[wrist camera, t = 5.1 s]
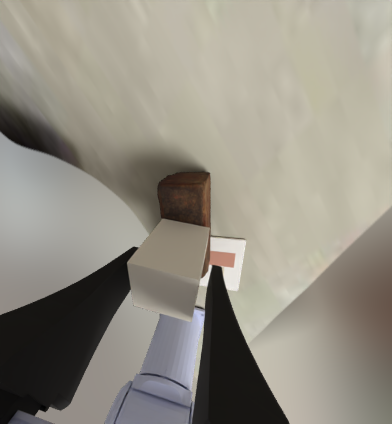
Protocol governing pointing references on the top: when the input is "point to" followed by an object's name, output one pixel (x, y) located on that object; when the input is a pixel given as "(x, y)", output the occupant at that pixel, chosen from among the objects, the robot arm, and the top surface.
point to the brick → (187, 202)
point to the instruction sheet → (226, 260)
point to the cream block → (169, 269)
